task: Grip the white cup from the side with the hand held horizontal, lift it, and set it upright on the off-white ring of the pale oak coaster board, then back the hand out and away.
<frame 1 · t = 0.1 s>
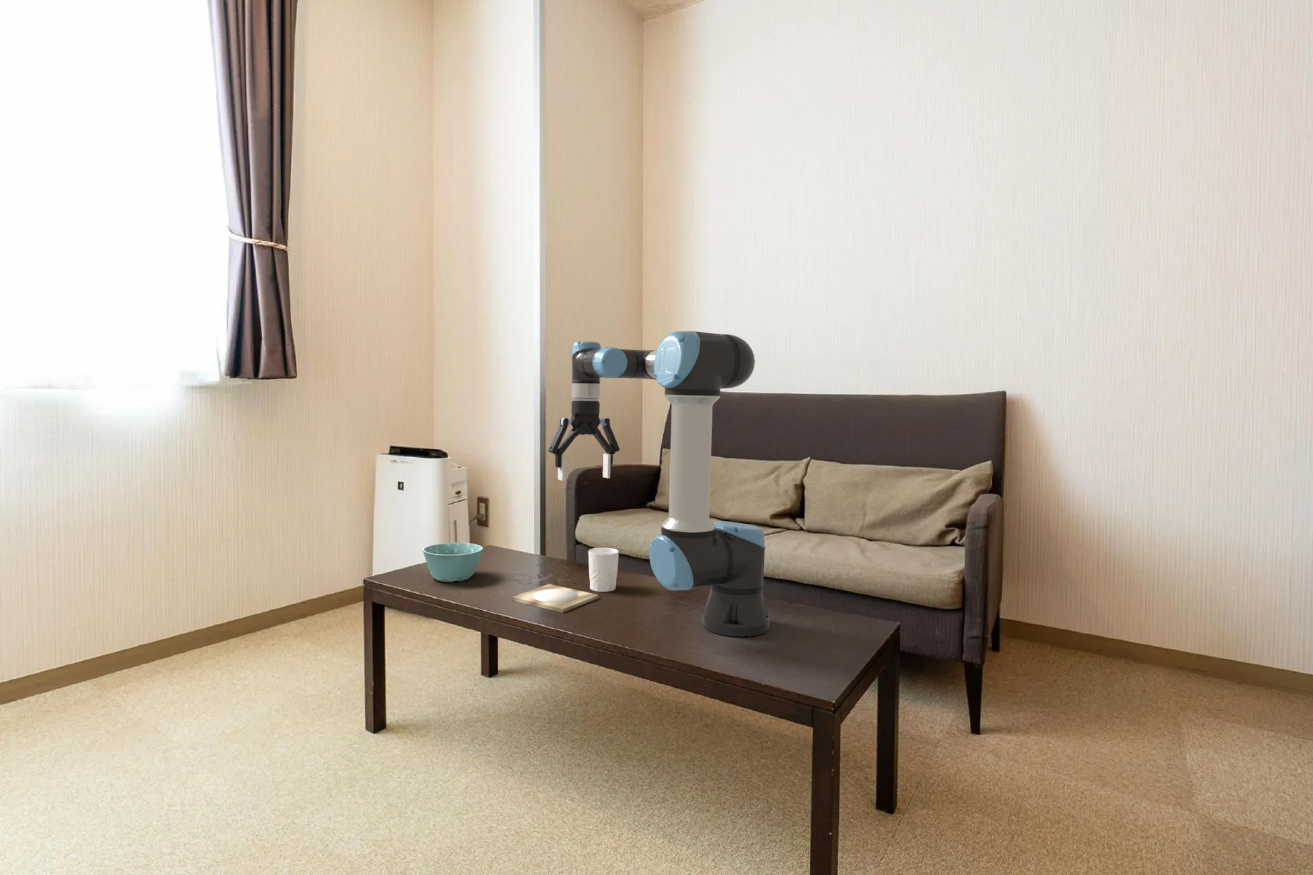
hand: (584, 478, 192), 28 cm above the table, tool pointing down, fingers open, 13 cm apart
bowl: (452, 578, 193), on the table
coaster board: (555, 599, 176), on the table
white cup: (602, 589, 187), on the table
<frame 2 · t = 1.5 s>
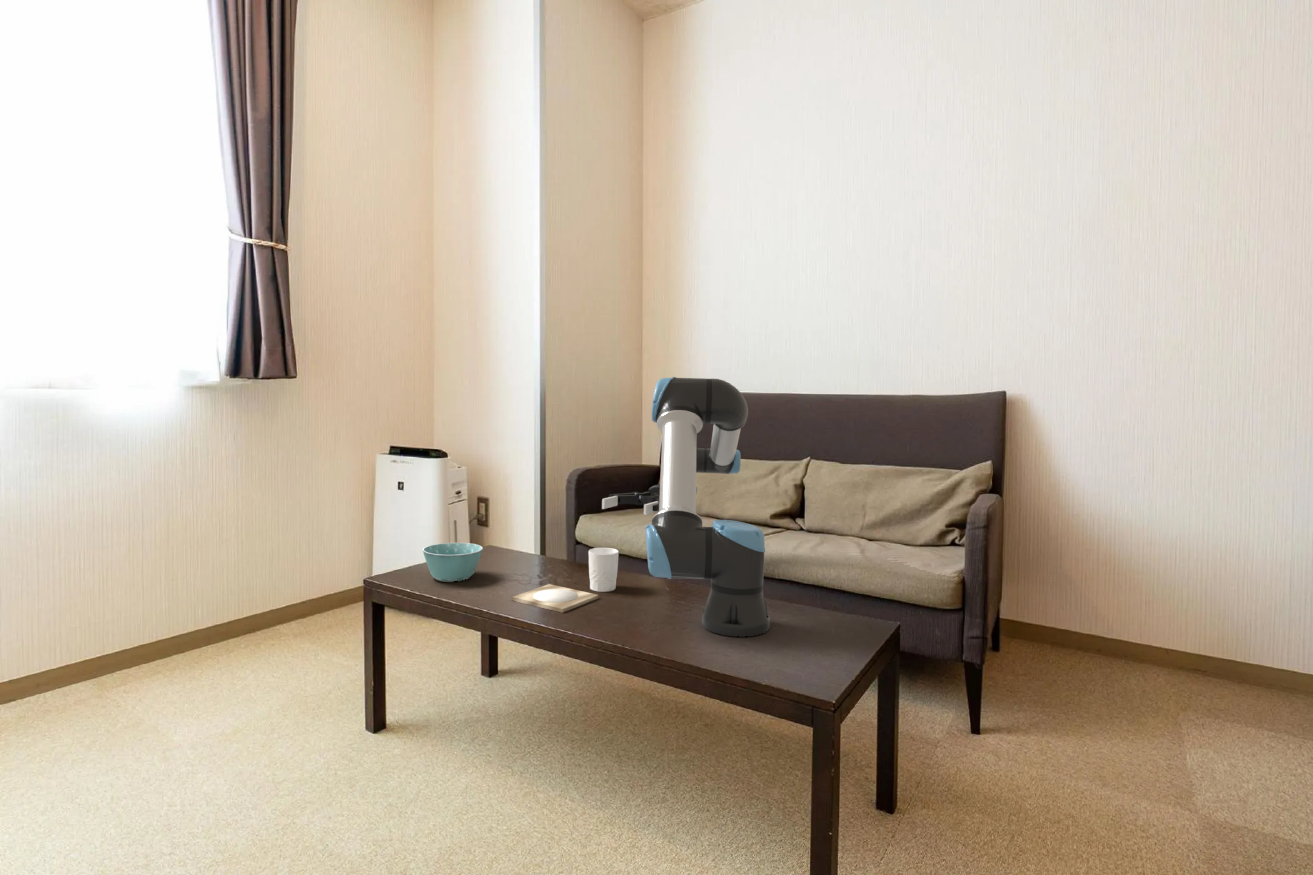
hand: (623, 506, 193), 20 cm above the table, tool horizontal, fingers open, 13 cm apart
nothing on the table moved.
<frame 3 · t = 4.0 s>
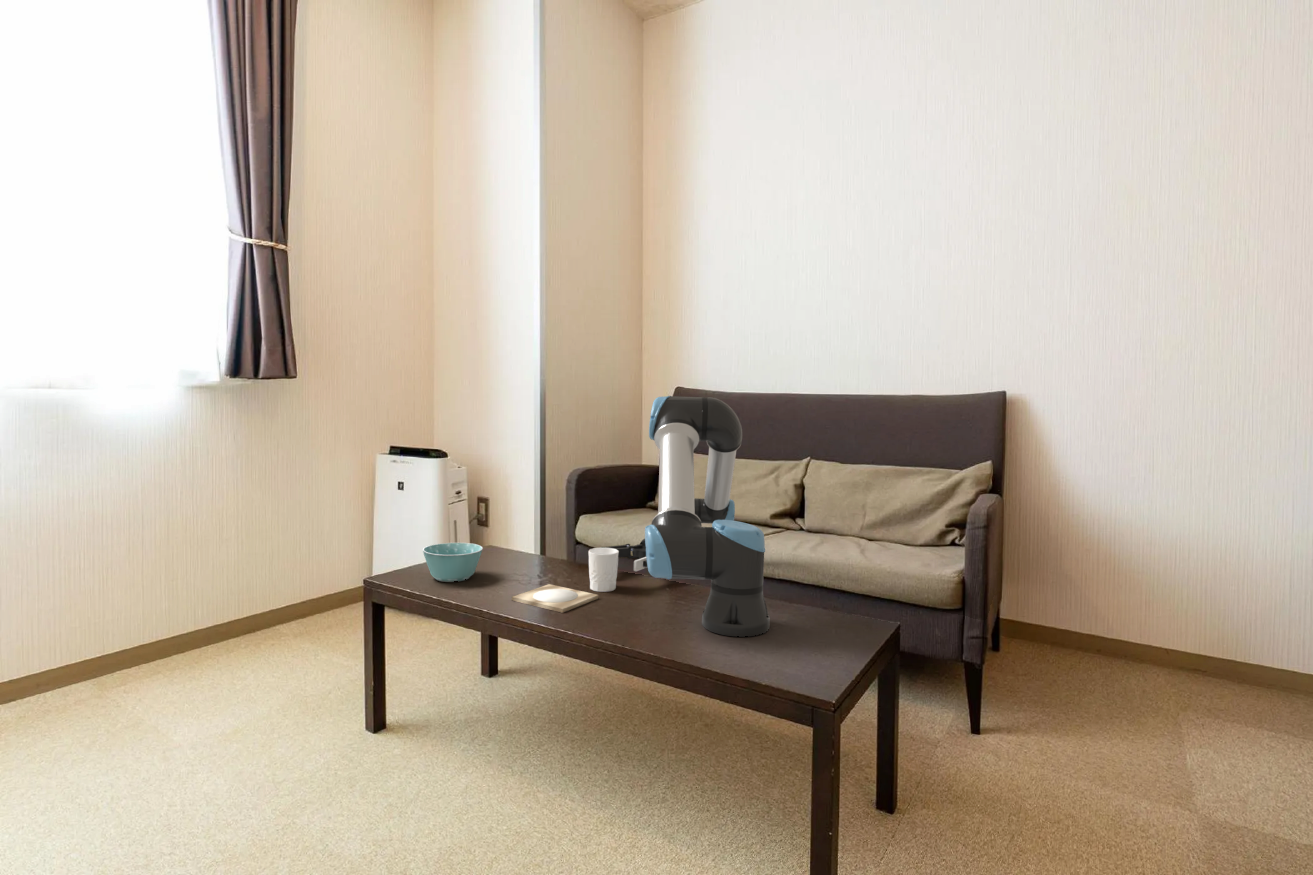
hand: (613, 562, 191), 6 cm above the table, tool horizontal, fingers open, 13 cm apart
nothing on the table moved.
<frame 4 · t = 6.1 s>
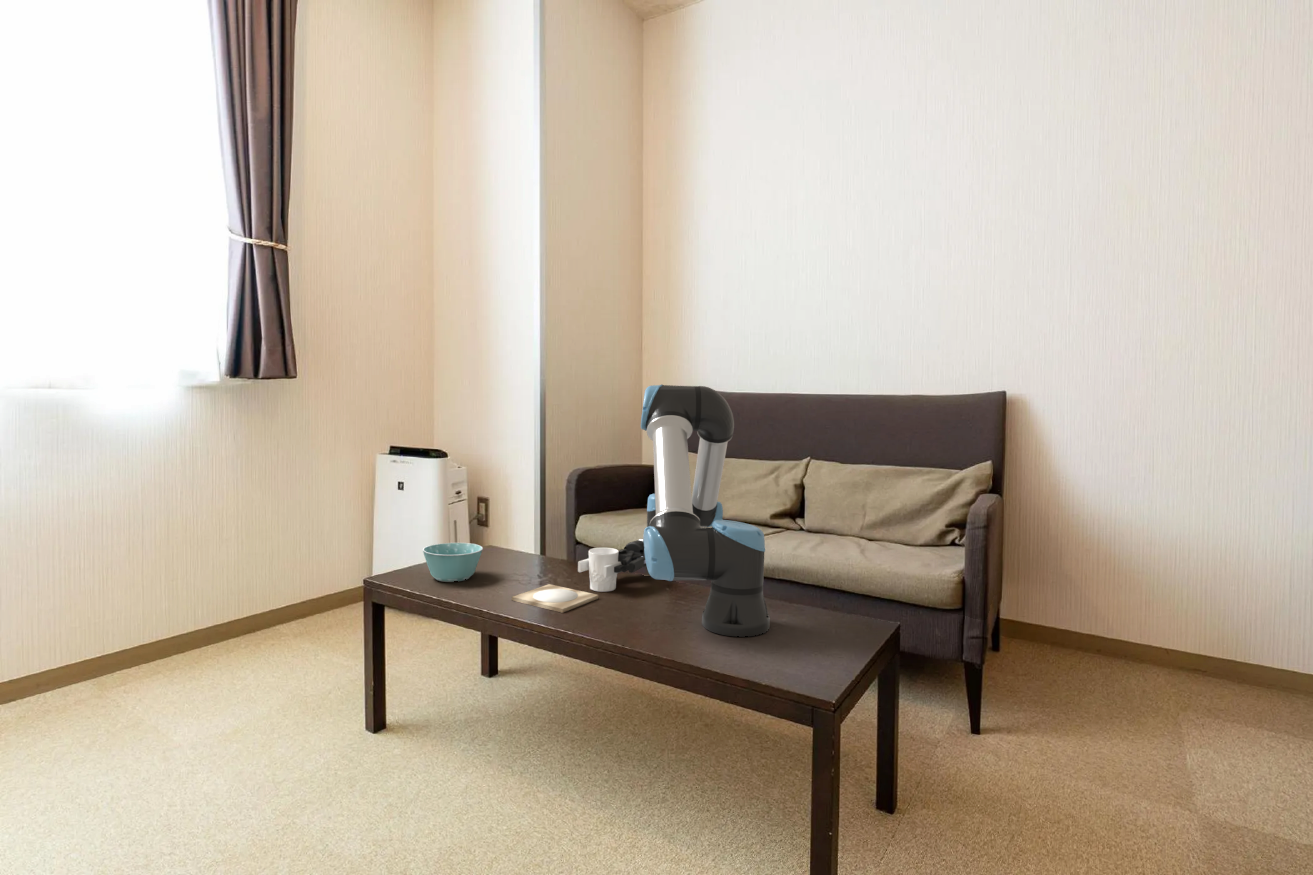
hand: (592, 569, 182), 6 cm above the table, tool horizontal, fingers closed on white cup, 8 cm apart
white cup: (602, 589, 187), on the table, touching gripper
everything else where it was.
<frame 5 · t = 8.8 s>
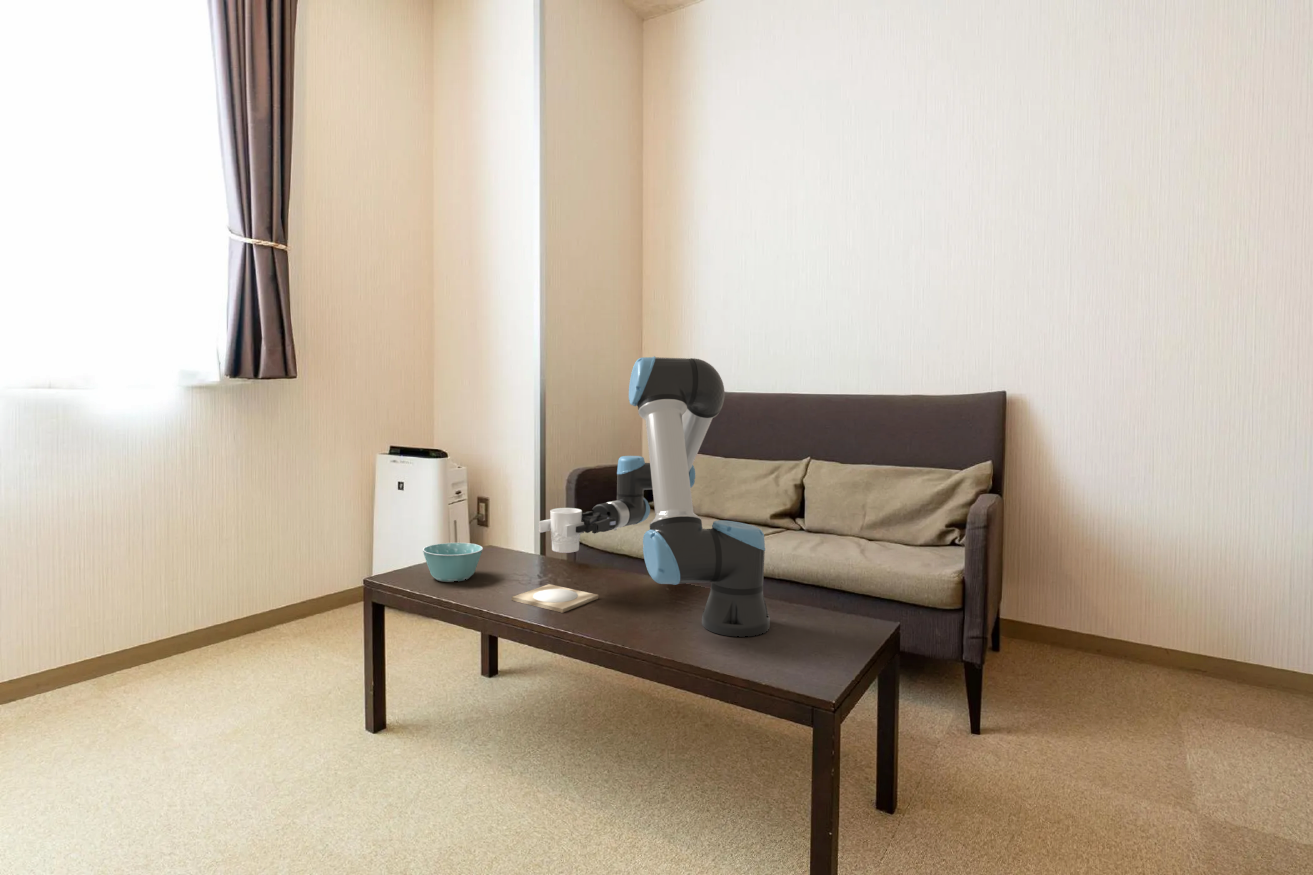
hand: (552, 529, 174), 18 cm above the table, tool horizontal, fingers closed on white cup, 8 cm apart
white cup: (565, 550, 178), point 12 cm above the table, touching gripper
everything else where it was.
when the fingers open (8 cm above the table, at t = 11.3 s): white cup drops 1 cm, resting on coaster board.
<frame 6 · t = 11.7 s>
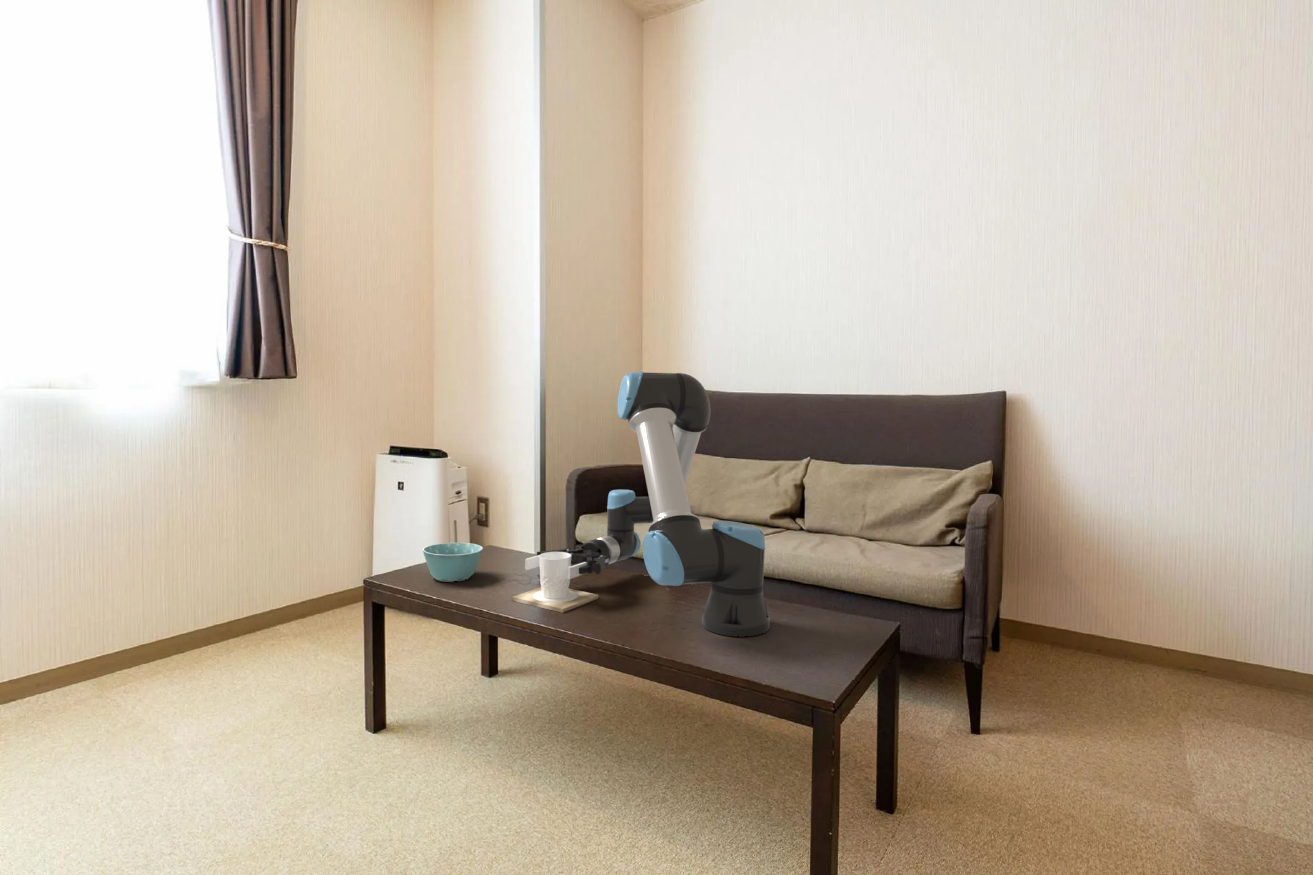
hand: (546, 568, 173), 8 cm above the table, tool horizontal, fingers open, 13 cm apart
white cup: (554, 595, 176), point 1 cm above the table, touching coaster board
everything else where it was.
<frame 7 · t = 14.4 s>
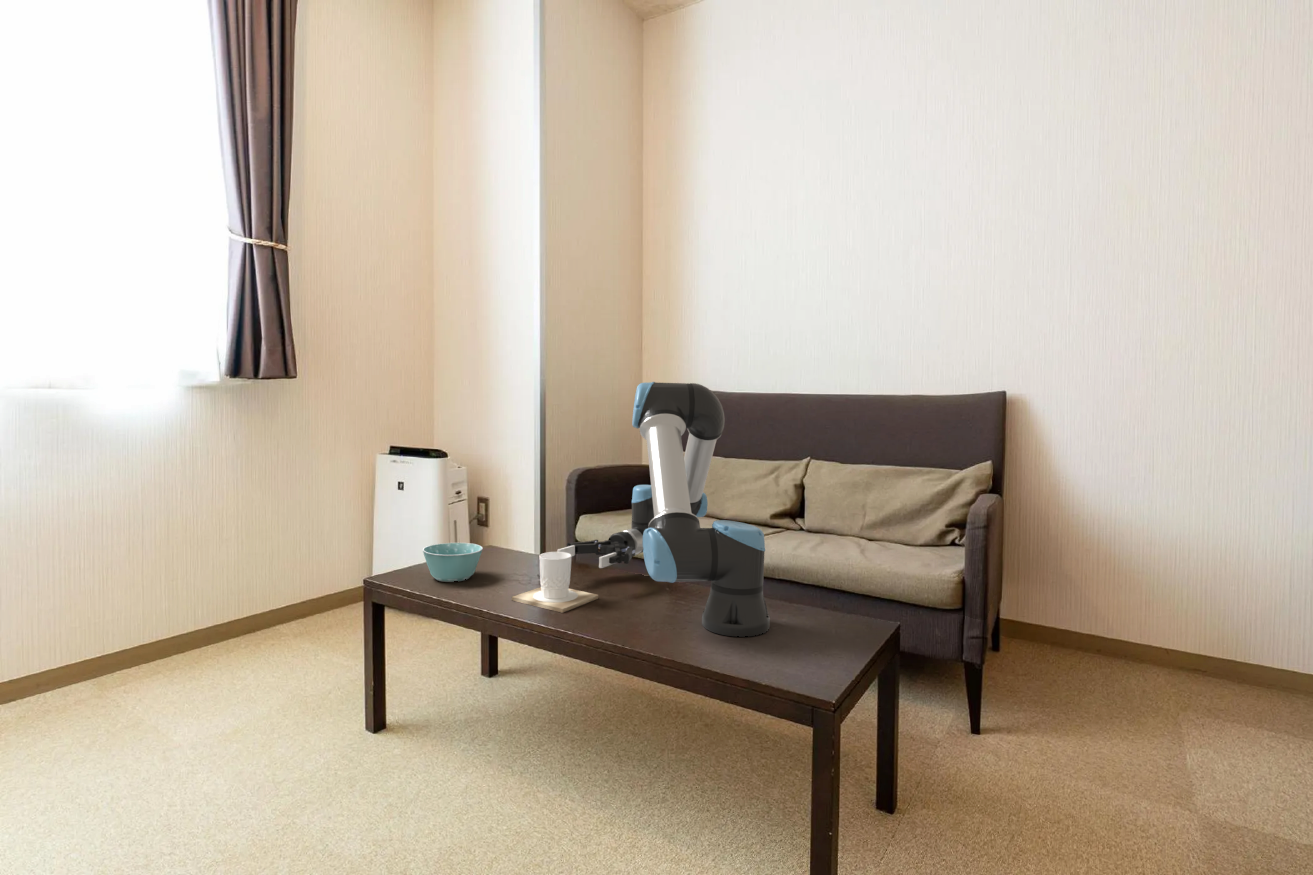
hand: (578, 558, 183), 8 cm above the table, tool horizontal, fingers open, 13 cm apart
nothing on the table moved.
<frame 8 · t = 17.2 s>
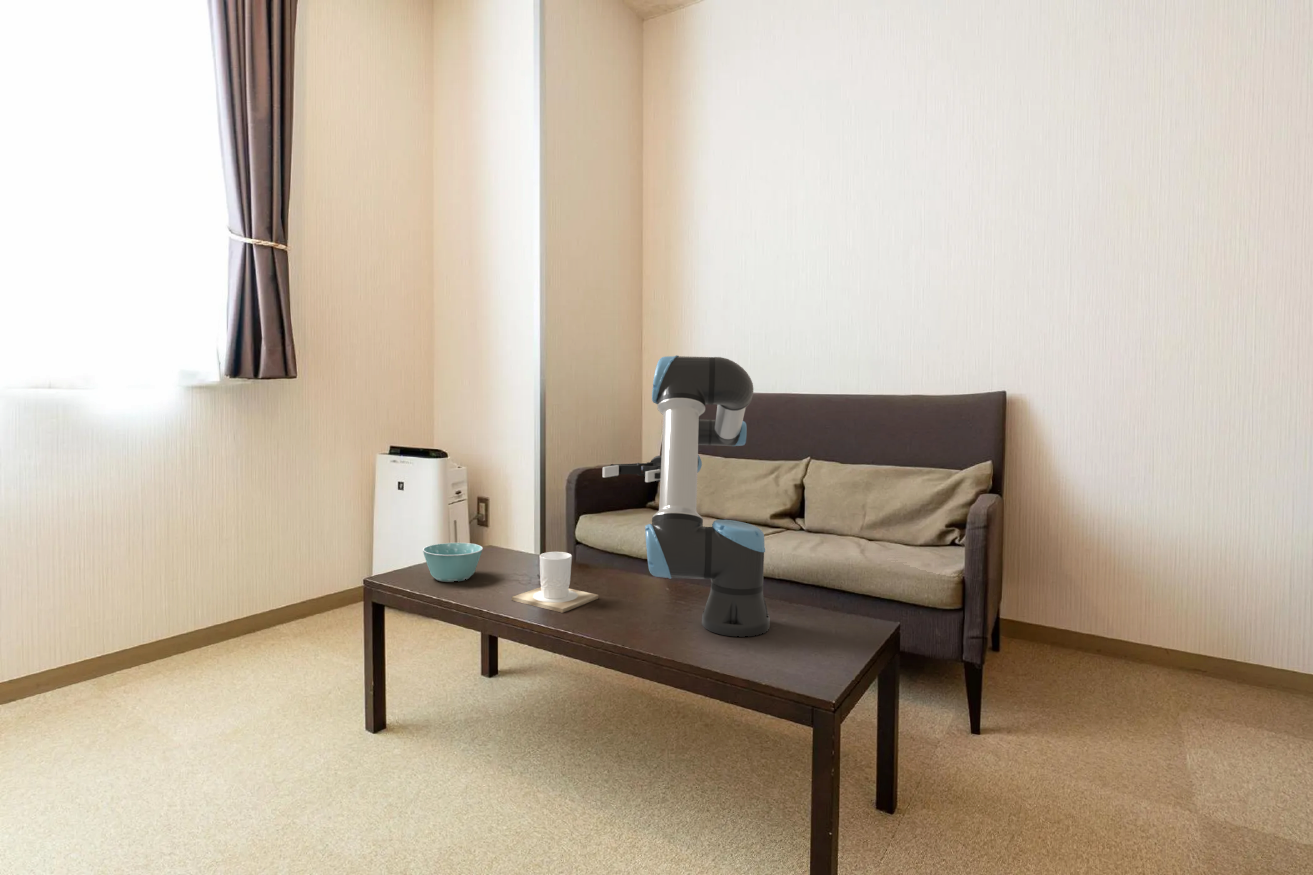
hand: (624, 474, 186), 30 cm above the table, tool horizontal, fingers open, 13 cm apart
nothing on the table moved.
at the end: white cup 0.3 cm from the coaster board (horizontally); white cup tilted 0°; the gripper is holding nothing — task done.
